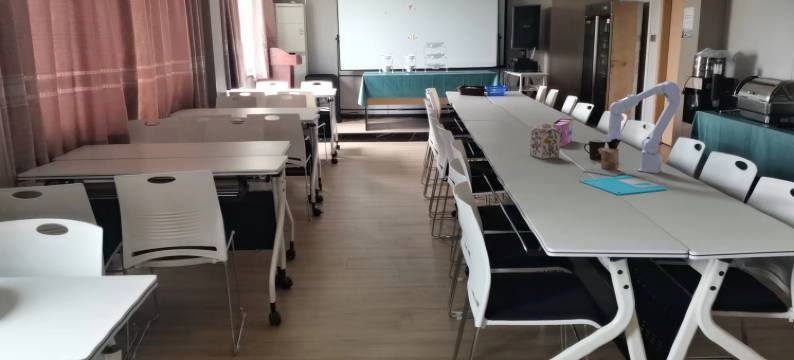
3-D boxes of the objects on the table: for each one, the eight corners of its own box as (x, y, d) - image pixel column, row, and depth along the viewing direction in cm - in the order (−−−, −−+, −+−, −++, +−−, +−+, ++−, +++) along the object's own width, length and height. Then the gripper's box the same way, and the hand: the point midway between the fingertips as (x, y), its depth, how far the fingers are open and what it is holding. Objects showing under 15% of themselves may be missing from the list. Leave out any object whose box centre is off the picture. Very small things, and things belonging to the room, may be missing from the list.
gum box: (563, 147, 364) (565, 124, 361) (550, 145, 367) (551, 123, 364) (571, 140, 385) (573, 119, 382) (558, 139, 388) (560, 118, 385)
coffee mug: (602, 157, 334) (603, 139, 331) (606, 160, 326) (607, 142, 323) (580, 157, 335) (581, 138, 333) (583, 160, 327) (584, 141, 324)
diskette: (578, 182, 281) (578, 180, 281) (628, 177, 291) (628, 175, 291) (617, 196, 257) (617, 194, 257) (670, 190, 267) (670, 188, 267)
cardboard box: (618, 168, 304) (618, 149, 300) (615, 171, 301) (615, 152, 297) (604, 166, 309) (604, 147, 305) (601, 169, 306) (601, 150, 302)
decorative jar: (559, 157, 333) (561, 124, 329) (541, 159, 329) (543, 125, 325) (546, 153, 344) (548, 121, 340) (528, 155, 340) (530, 122, 335)
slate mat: (623, 173, 297) (623, 172, 297) (615, 176, 290) (615, 175, 290) (591, 168, 308) (591, 167, 307) (583, 171, 300) (583, 170, 300)
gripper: (612, 124, 309) (610, 151, 312) (600, 127, 298) (598, 155, 302) (626, 126, 305) (623, 153, 308) (615, 129, 294) (612, 157, 297)
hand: (612, 154), depth 304 cm, fingers closed
